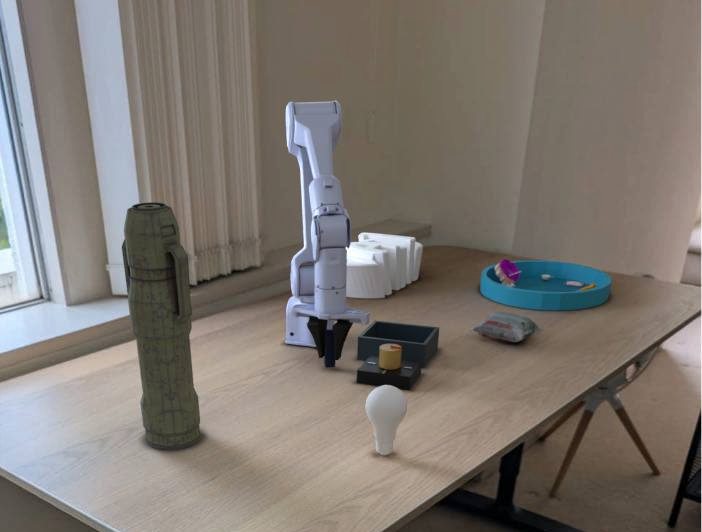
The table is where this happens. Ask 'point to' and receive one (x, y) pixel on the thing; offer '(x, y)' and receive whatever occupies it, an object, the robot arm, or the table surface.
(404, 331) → the dark teal open box
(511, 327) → the packaged food
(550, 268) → the round blue tray
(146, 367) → the thermos
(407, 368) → the block
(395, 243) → the wavy white extrusion
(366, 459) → the table surface
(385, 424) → the lightbulb
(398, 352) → the tap knob
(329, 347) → the eraser
